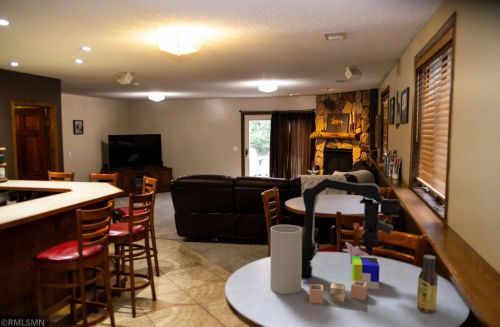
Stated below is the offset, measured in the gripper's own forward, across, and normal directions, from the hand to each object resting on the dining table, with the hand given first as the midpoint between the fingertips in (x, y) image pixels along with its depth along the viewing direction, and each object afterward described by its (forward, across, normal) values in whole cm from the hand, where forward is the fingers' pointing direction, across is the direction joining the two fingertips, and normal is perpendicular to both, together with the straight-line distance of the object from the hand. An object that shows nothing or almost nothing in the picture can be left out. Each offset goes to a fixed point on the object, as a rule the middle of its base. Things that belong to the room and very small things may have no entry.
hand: (370, 251), depth 157 cm
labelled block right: (+14, -13, +3) cm, 20 cm away
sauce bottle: (+14, -16, -20) cm, 30 cm away
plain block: (+14, -18, +11) cm, 25 cm away
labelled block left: (+14, -22, +18) cm, 32 cm away
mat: (+14, -18, +11) cm, 25 cm away
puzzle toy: (+15, +1, +2) cm, 15 cm away
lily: (+15, +28, +8) cm, 33 cm away
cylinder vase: (+15, -15, +32) cm, 38 cm away
